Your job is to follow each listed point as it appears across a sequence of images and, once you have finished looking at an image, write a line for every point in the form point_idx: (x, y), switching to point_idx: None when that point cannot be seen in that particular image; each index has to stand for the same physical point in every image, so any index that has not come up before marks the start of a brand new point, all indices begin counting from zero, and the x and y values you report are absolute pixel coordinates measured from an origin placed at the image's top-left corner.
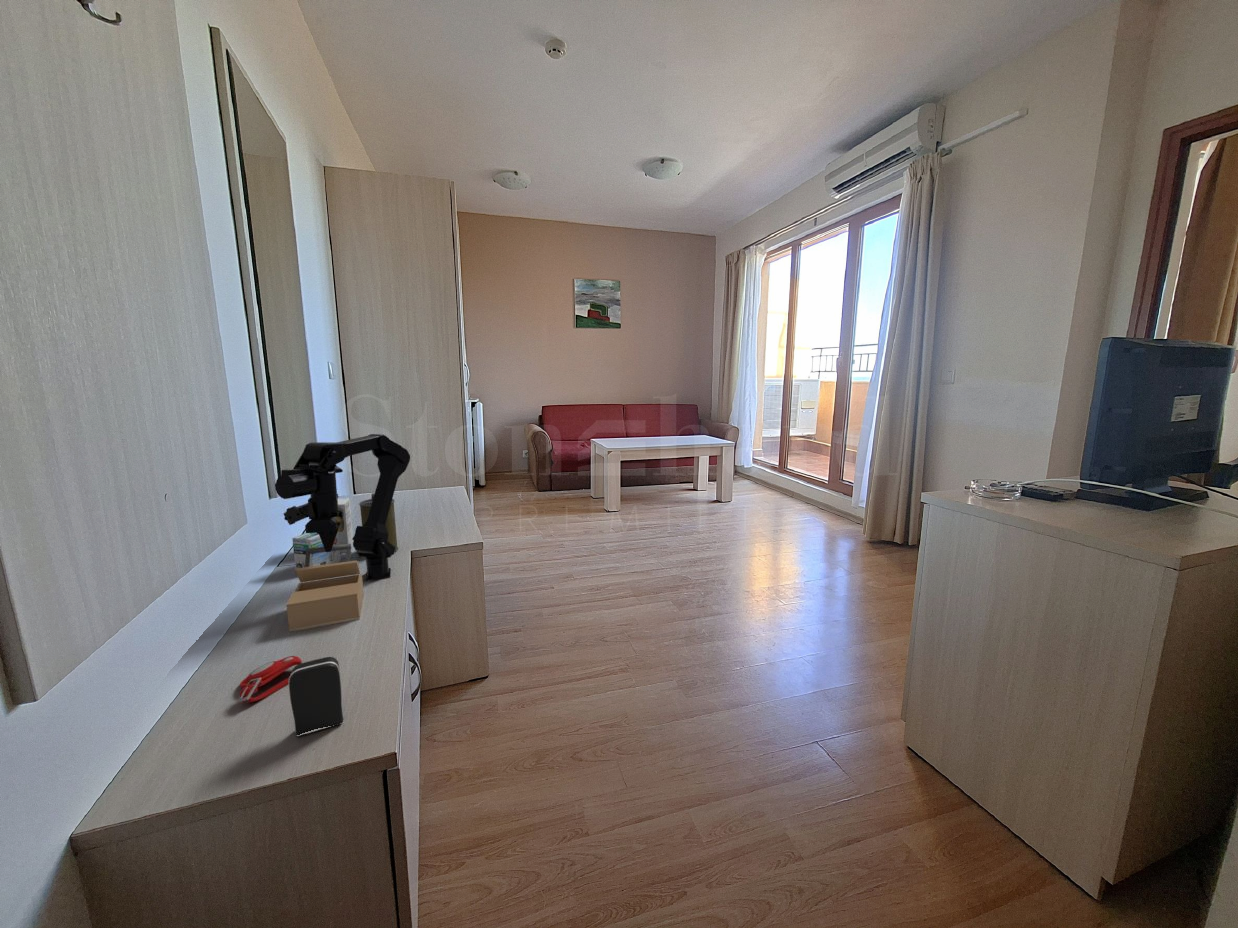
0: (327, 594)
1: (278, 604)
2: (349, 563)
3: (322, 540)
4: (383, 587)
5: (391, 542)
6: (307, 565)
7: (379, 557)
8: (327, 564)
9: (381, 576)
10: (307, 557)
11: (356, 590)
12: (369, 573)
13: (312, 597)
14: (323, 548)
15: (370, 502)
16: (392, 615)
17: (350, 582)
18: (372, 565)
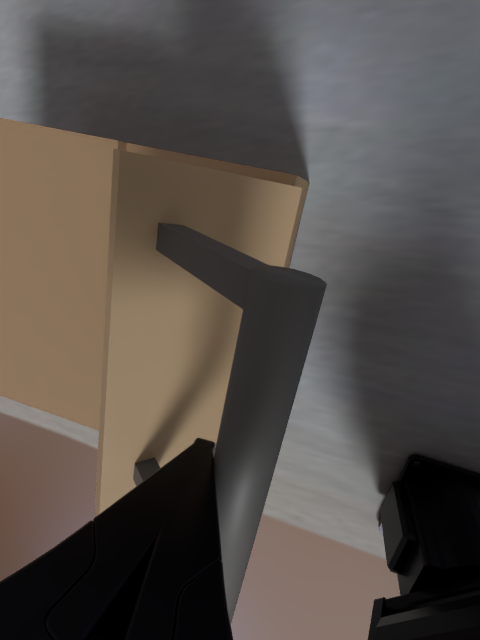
0: (21, 297)
1: (403, 68)
2: (98, 477)
3: (80, 534)
4: (288, 475)
5: None
6: (172, 250)
7: (394, 604)
8: (105, 376)
9: (380, 509)
10: (213, 270)
11: (22, 399)
12: (431, 491)
13: (14, 234)
14: (216, 449)
15: None
16: (59, 422)
17: None
18: (402, 538)
